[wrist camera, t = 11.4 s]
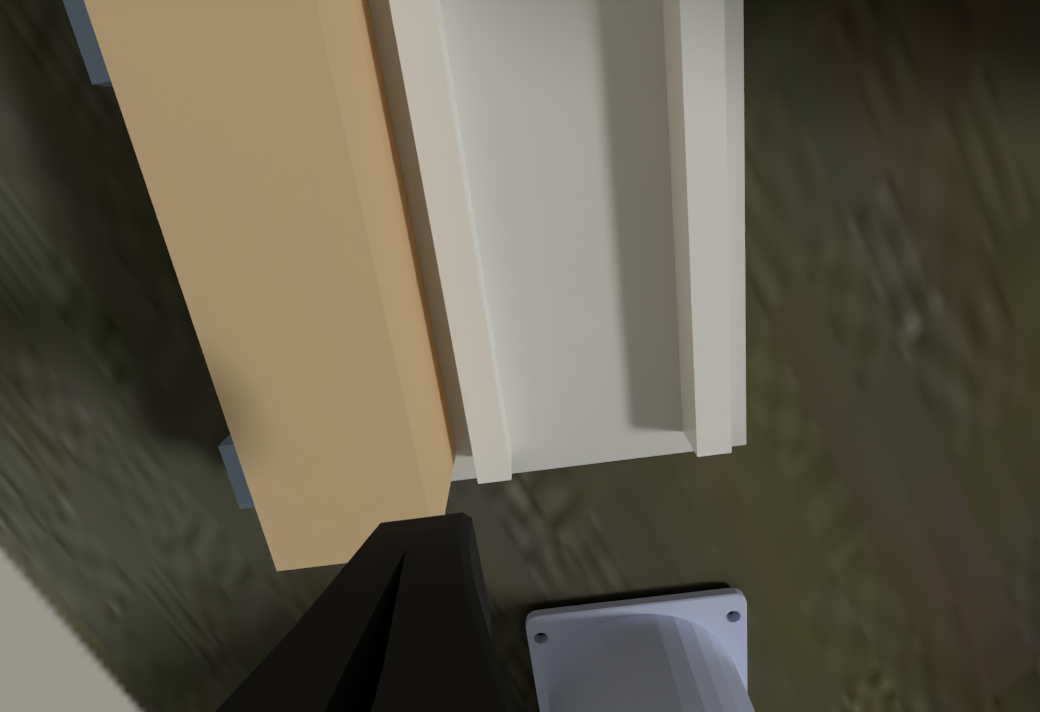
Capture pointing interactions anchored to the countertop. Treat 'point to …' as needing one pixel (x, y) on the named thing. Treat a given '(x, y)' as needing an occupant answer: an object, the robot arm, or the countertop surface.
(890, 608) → the countertop surface
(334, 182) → the tan bar
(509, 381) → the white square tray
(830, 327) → the countertop surface
